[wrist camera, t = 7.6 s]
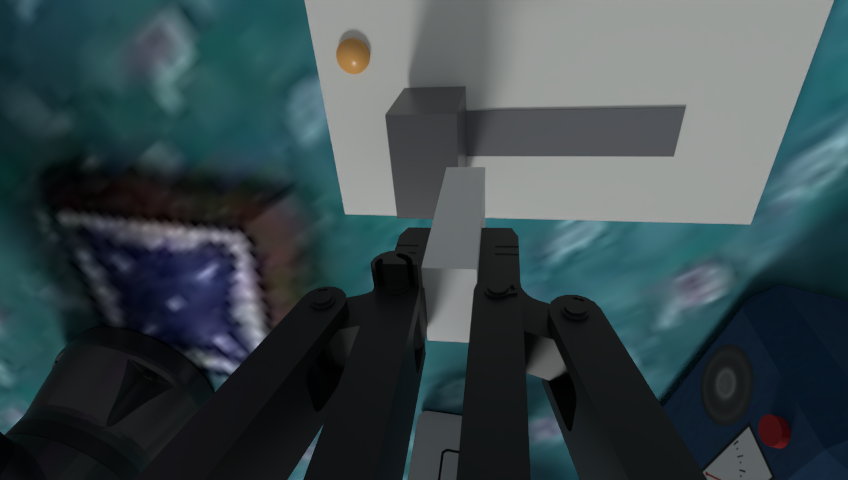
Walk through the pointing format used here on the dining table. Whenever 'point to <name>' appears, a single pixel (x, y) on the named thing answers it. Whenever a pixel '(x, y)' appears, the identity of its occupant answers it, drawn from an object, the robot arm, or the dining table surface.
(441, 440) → the electrical switch
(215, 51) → the dining table surface
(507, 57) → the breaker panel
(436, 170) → the block
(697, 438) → the radio
